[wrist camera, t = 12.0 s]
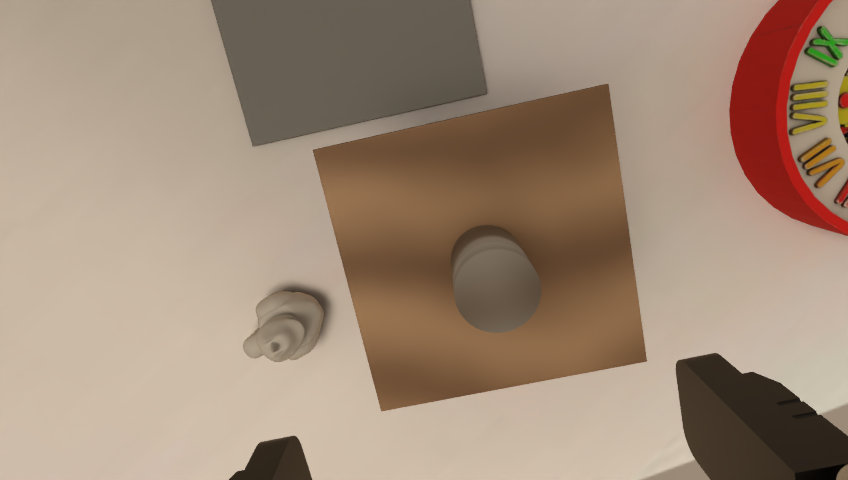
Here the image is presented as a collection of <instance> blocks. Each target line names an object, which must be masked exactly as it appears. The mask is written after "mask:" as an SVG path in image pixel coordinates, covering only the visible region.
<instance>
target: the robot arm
mask: <svg viewBox="0 0 848 480" xmlns="http://www.w3.org/2000/svg"><path fill="white" fill-rule="evenodd" d="M676 376H677V384H678V391H679V399H680V407H681V414H682V422H683V429H684V433H685V437H686V440H687V443H688V446H689V448H690V450H691V452H692V454H693V456H694V458H695V459H696V461H697V462H698V464H699V465H700V466H701V468H702V469H703V470H704V471H705V473H706V474H707V476H708V477H709V478H710V480H848V436H847V435H846V434H844V433H843V432H842V431H841V430H839V429H838V428H837V427H835V426H834V425H833V424H832V423H830V422H829V421H828V420H827V419H825V418H824V417H823V416H822V415H817V413H816V411H815V410H814V409H813V408H811V407H810V406H809V405H808V404H806V403H805V402H804V401H803V402H801V401H800V398H799V397H797V396H796V395H795V394H793V393H792V392H791V391H790V390H788V389H787V388H786V387H785V386H783V385H782V384H781V383H779V382H777V381H774V380H772V379H769V378H767V377H764V376H762V375H759V374H757V373H754V372H749V373H744V374H742V373H741V372H739V371H738V370H737V369H736V368H735V367H733V366H732V365H731V364H730V363H729V362H728V361H726V360H725V359H724V358H723V357H722V356H721V355H719V354H717V353H713V354H708V355H703V356H697V357H692V358H687V359H682V360H678V361H677V363H676ZM229 480H312V478H311V474H310V471H309V468H308V465H307V462H306V459H305V456H304V452H303V449H302V446H301V443H300V441H299V440H298V438H297V437H296V436H290V437H284V438H279V439H274V440H269V441H264V442H260V443H259V444H258V445H257V447H256V449H255V451H254V453H253V454H252V456H251V458H250V460H249V462H248V464H247V466H246V468H245V470H242V471H237V472H236V473H235V474H234V475H233V476H232V477H231V478H230V479H229Z"/></svg>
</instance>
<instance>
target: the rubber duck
mask: <svg viewBox="0 0 848 480" xmlns="http://www.w3.org/2000/svg"><path fill="white" fill-rule="evenodd" d="M256 314H257V317H258V325H259V328H258V329H257V330H255V332H254V333H253V334H251V335H250V336H249V337H248V338H247V339H246V340H245V341H244V344H243V349H244V351H245V353H246V354H247V355H248V356H249V357H251V358H258V357H260V356H262V355H264V356H266V357H267V358H268V359H270V360H272V361H274V362H282V361H285V360H287V359H290V360H296V359H299V358H300V357H302V356H304V355H306V354H307V353H309V352H310V351H311V350H312V349H313V348H314V346H315V344H316V343H317V341H318V338H319V334H320V329H321V326H322V322H323V317H324V312H323V309H322V307H321V306H320V304H319V303H318V301H317V300H316V299H315V298H314V297H313V296H310V295H307V294H305V293H301V292H288V291H279V292H276V293H274V294H272V295H270V296H268V297H267V298H265V299H263V300H262V301H261V302H259V303H258V305H257V307H256Z"/></svg>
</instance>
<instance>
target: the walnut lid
mask: <svg viewBox="0 0 848 480" xmlns="http://www.w3.org/2000/svg"><path fill="white" fill-rule="evenodd" d="M313 153H314V156H315V160H316V164H317V168H318V172H319V175H320V179H321V183H322V187H323V191H324V194H325V198H326V202H327V206H328V210H329V214H330V217H331V221H332V225H333V229H334V233H335V236H336V240H337V244H338V248H339V252H340V255H341V259H342V263H343V267H344V271H345V275H346V278H347V282H348V286H349V290H350V294H351V297H352V301H353V305H354V309H355V313H356V316H357V320H358V324H359V328H360V332H361V336H362V339H363V343H364V347H365V351H366V355H367V358H368V362H369V366H370V370H371V374H372V377H373V381H374V385H375V389H376V393H377V397H378V400H379V404H380V408H381V411H386V410H391V409H396V408H401V407H407V406H412V405H417V404H423V403H428V402H433V401H439V400H444V399H449V398H455V397H460V396H465V395H471V394H476V393H481V392H486V391H492V390H497V389H502V388H508V387H513V386H518V385H524V384H529V383H534V382H540V381H545V380H550V379H556V378H561V377H566V376H571V375H577V374H582V373H587V372H593V371H598V370H603V369H609V368H614V367H619V366H625V365H630V364H635V363H641V362H646V361H647V359H646V352H645V344H644V337H643V330H642V323H641V316H640V308H639V301H638V294H637V287H636V280H635V272H634V265H633V258H632V251H631V244H630V236H629V229H628V222H627V215H626V208H625V200H624V193H623V186H622V179H621V172H620V164H619V157H618V150H617V143H616V136H615V129H614V121H613V114H612V107H611V100H610V93H609V85H608V84H605V85H600V86H595V87H591V88H586V89H582V90H577V91H573V92H568V93H564V94H560V95H555V96H551V97H546V98H542V99H537V100H533V101H528V102H524V103H519V104H515V105H511V106H506V107H502V108H497V109H493V110H488V111H484V112H479V113H475V114H470V115H466V116H461V117H457V118H453V119H448V120H444V121H439V122H435V123H430V124H426V125H421V126H417V127H412V128H408V129H404V130H399V131H395V132H390V133H386V134H381V135H377V136H372V137H368V138H363V139H359V140H355V141H350V142H346V143H341V144H337V145H332V146H328V147H323V148H319V149H315V150H313Z"/></svg>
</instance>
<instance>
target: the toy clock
mask: <svg viewBox="0 0 848 480" xmlns="http://www.w3.org/2000/svg"><path fill="white" fill-rule="evenodd" d="M730 128H731V136H732V140H733V144H734V149H735V153H736V156H737V158H738V160H739V163H740V165H741V167H742V169H743V171H744V174H745V176H746V177H747V178H748V180H749V181H750V182H751V184H752V185H753V187H754V188H755V189H756V191H757V192H758V193H759V194H760V195H761V196H762V197H763V198H764V199H765V200H766V201H768V202H769V203H770V204H771V205H772V206H773V207H774V208H776V209H778V210H779V211H781V212H783V213H784V214H786V215H788V216H789V217H791V218H793V219H796V220H799V221H801V222H804V223H807V224H809V225H812V226H816V227H819V228H822V229H826V230H829V231H833V232H836V233H840V234H843V235H846V236H848V0H779V1H778V2H777V3H776V4H775V5H774V6H773V7H772V8H771V9H770V10H769V12H768V13H767V14H766V15H765V16H764V18H763V19H762V21H761V22H760V24H759V25H758V27H757V28H756V30H755V31H754V33H753V34H752V36H751V37H750V40H749V42H748V44H747V46H746V48H745V50H744V52H743V54H742V57H741V59H740V61H739V64H738V68H737V71H736V75H735V78H734V81H733V85H732V93H731V101H730Z"/></svg>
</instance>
